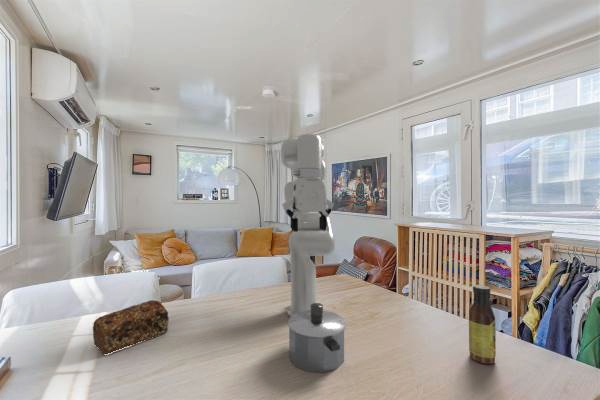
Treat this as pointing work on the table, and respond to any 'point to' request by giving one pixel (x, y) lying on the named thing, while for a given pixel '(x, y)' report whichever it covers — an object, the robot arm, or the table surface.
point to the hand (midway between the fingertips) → (309, 230)
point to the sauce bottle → (482, 327)
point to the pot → (316, 352)
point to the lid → (316, 323)
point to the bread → (130, 326)
